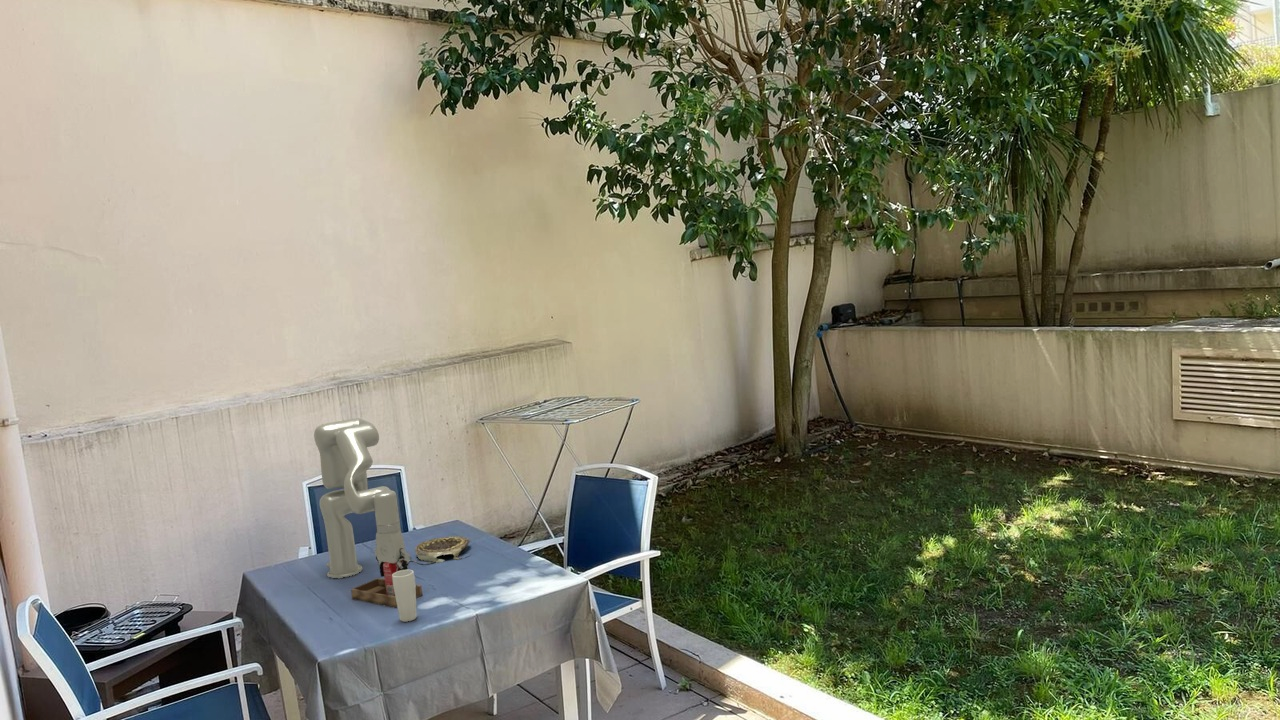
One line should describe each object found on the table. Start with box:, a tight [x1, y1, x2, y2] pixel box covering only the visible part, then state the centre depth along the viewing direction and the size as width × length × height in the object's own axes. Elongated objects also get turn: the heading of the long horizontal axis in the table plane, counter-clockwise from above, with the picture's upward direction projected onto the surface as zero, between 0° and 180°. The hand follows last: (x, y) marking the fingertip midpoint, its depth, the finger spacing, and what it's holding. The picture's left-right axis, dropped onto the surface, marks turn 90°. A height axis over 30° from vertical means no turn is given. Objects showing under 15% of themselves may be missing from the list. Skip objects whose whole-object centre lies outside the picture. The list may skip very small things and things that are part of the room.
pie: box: [410, 535, 471, 565], centre depth 338 cm, size 28×27×5 cm
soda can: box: [383, 558, 403, 596], centre depth 289 cm, size 7×7×13 cm
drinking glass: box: [392, 569, 418, 623], centre depth 269 cm, size 7×7×15 cm
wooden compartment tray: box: [350, 577, 423, 609], centre depth 292 cm, size 22×12×4 cm, turn 56°
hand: (394, 577), depth 289 cm, fingers open, 9 cm apart
